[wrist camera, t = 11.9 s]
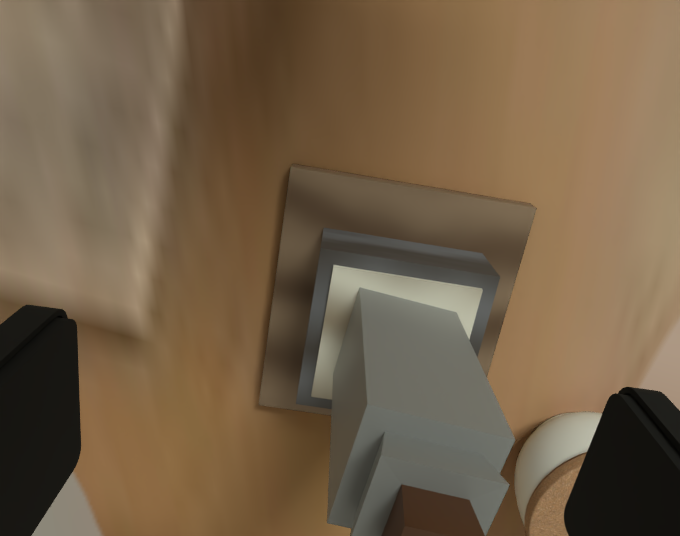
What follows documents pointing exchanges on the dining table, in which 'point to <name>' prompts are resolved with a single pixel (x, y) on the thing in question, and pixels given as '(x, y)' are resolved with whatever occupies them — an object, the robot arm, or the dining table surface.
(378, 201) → the stand
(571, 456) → the lidded bowl
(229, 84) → the dining table surface
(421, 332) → the perfume bottle
